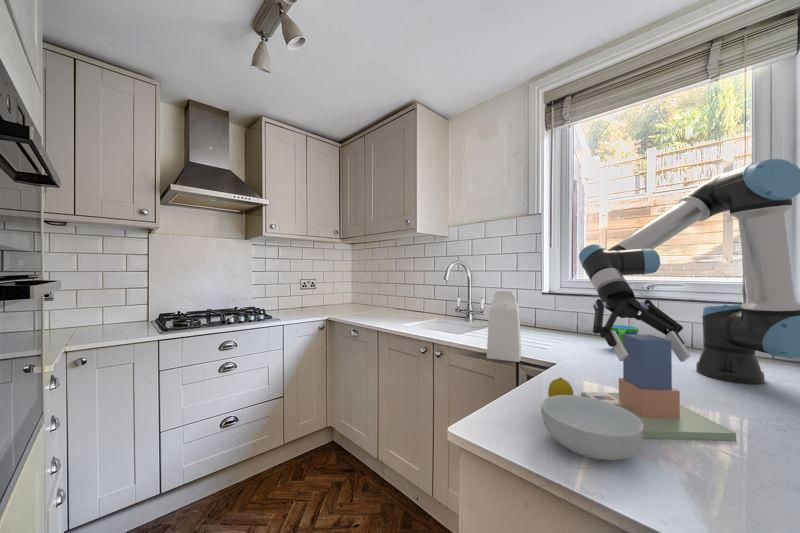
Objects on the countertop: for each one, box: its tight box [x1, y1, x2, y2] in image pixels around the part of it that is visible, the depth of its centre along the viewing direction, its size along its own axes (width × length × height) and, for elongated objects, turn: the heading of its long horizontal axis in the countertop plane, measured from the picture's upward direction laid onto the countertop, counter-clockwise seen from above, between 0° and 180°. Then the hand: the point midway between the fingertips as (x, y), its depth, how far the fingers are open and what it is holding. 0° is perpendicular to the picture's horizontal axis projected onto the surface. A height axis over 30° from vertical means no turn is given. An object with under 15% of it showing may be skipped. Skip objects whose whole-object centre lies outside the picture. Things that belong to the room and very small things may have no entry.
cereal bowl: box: [540, 394, 644, 461], centre depth 60 cm, size 17×17×7 cm
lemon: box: [547, 377, 575, 397], centre depth 76 cm, size 6×6×8 cm
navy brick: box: [622, 333, 673, 390], centre depth 73 cm, size 6×6×11 cm
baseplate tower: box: [580, 377, 737, 442], centre depth 73 cm, size 20×20×8 cm
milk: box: [486, 290, 522, 363], centre depth 124 cm, size 12×12×26 cm
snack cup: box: [610, 324, 639, 349], centre depth 132 cm, size 16×10×10 cm
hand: (654, 358), depth 71 cm, fingers open, 13 cm apart
